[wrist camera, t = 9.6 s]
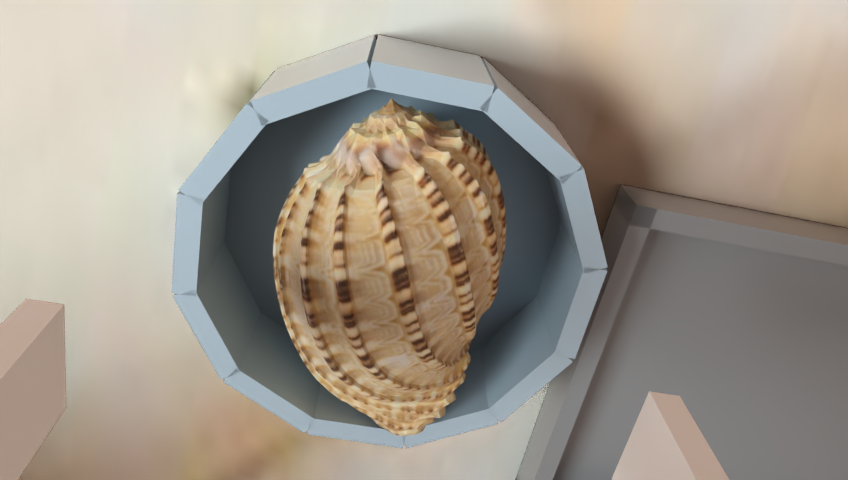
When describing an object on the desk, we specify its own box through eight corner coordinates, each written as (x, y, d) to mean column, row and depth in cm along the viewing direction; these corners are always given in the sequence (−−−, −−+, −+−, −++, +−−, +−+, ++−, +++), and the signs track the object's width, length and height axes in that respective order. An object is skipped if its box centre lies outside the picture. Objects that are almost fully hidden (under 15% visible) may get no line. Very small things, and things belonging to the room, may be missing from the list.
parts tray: (513, 485, 29) (519, 519, 27) (620, 184, 23) (636, 205, 21) (884, 538, 31) (910, 572, 29) (1072, 271, 25) (1118, 297, 23)
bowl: (199, 342, 26) (165, 413, 22) (226, 2, 20) (186, 22, 17) (518, 392, 27) (534, 467, 23) (620, 85, 22) (662, 120, 18)
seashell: (539, 300, 25) (466, 46, 19) (567, 436, 20) (480, 152, 14) (342, 345, 26) (219, 122, 21) (324, 482, 21) (156, 241, 16)
